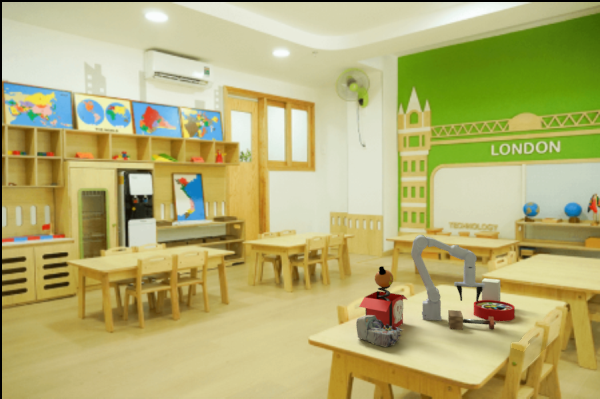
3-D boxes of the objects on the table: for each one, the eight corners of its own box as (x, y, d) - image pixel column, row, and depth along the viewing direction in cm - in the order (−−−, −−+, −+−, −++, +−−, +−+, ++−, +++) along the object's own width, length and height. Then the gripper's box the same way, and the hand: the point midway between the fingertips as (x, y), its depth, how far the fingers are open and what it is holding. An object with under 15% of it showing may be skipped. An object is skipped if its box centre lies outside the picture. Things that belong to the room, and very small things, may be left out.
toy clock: (470, 299, 244) (508, 300, 240) (470, 309, 244) (508, 311, 240) (478, 309, 224) (519, 311, 220) (478, 320, 224) (519, 322, 221)
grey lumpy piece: (365, 310, 207) (405, 318, 195) (364, 332, 207) (404, 342, 196) (352, 317, 196) (393, 326, 185) (351, 340, 197) (393, 351, 185)
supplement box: (500, 305, 251) (501, 279, 251) (498, 309, 244) (498, 282, 243) (484, 302, 256) (484, 277, 256) (481, 306, 249) (481, 280, 248)
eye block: (449, 329, 211) (449, 315, 211) (448, 322, 221) (448, 310, 221) (463, 330, 210) (463, 316, 209) (460, 323, 219) (460, 310, 219)
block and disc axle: (462, 328, 212) (462, 316, 211) (461, 324, 217) (461, 313, 217) (496, 330, 208) (496, 318, 207) (494, 327, 213) (494, 315, 213)
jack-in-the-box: (388, 334, 204) (388, 271, 203) (359, 328, 213) (358, 268, 212) (409, 320, 225) (409, 263, 224) (382, 315, 234) (382, 260, 233)
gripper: (455, 275, 221) (454, 301, 222) (485, 277, 217) (485, 303, 218) (454, 272, 228) (453, 298, 229) (483, 274, 224) (483, 300, 225)
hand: (469, 300), depth 224 cm, fingers open, 7 cm apart
